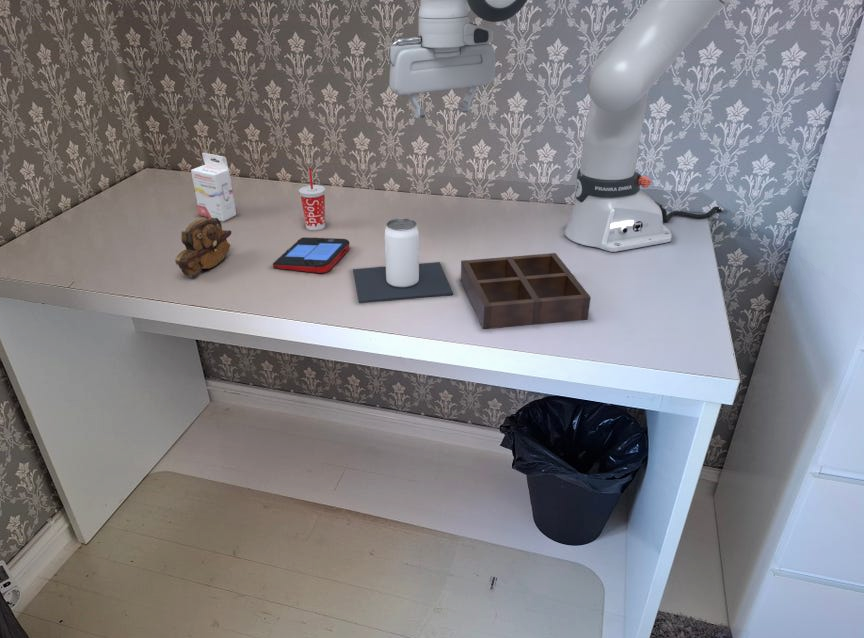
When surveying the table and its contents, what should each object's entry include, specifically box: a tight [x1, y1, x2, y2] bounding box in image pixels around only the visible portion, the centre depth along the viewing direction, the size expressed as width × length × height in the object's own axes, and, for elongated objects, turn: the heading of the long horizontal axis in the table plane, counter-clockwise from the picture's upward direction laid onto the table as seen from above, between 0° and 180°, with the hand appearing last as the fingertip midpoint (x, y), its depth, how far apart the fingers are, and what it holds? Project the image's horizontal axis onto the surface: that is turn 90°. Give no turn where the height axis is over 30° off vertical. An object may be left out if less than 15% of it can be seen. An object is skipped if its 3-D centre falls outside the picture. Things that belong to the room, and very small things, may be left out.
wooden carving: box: [175, 217, 232, 276], centre depth 141 cm, size 16×5×10 cm, turn 160°
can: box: [384, 217, 420, 288], centre depth 130 cm, size 6×6×12 cm
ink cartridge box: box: [190, 152, 237, 222], centre depth 165 cm, size 9×5×15 cm, turn 58°
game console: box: [272, 236, 351, 274], centre depth 145 cm, size 14×13×2 cm
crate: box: [460, 252, 592, 330], centre depth 125 cm, size 19×19×4 cm
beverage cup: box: [298, 167, 326, 231], centre depth 157 cm, size 6×6×14 cm
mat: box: [352, 261, 454, 304], centre depth 134 cm, size 18×14×1 cm
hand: (442, 114), depth 128 cm, fingers open, 8 cm apart
